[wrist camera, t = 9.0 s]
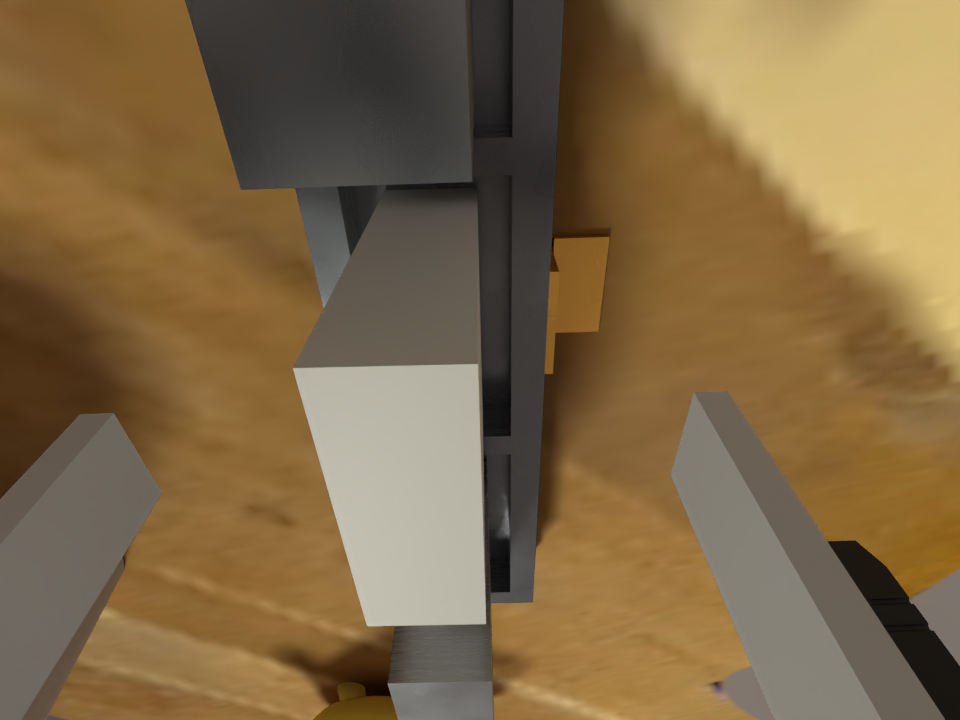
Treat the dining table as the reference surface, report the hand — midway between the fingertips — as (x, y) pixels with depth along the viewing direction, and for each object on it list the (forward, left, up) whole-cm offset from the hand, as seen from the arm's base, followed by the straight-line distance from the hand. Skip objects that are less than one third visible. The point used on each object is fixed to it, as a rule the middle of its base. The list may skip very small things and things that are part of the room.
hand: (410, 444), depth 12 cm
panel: (0, 0, -8) cm, 8 cm away
